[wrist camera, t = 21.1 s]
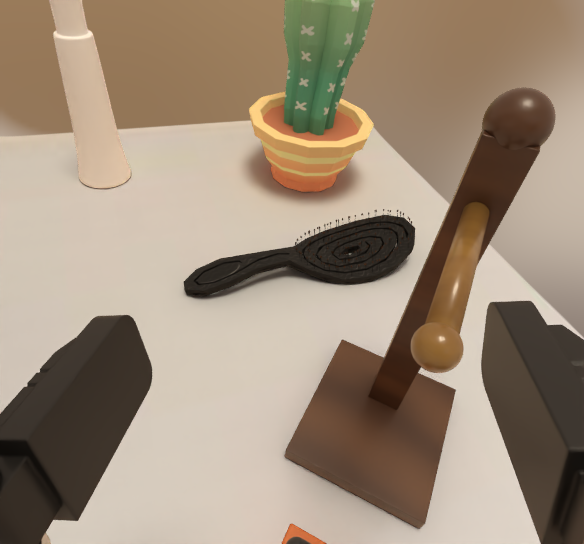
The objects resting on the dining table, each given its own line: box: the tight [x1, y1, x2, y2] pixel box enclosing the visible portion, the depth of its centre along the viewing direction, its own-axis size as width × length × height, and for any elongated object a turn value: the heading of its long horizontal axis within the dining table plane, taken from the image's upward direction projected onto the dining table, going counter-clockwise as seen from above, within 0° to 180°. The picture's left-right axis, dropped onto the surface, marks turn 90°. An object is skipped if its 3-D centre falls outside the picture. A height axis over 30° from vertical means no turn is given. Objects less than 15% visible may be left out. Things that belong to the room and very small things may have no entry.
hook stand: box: [285, 88, 555, 529], centre depth 24 cm, size 14×10×25 cm
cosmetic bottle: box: [49, 0, 131, 188], centre depth 46 cm, size 6×6×22 cm
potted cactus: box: [249, 0, 375, 192], centre depth 50 cm, size 15×15×25 cm
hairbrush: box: [184, 209, 415, 296], centre depth 44 cm, size 8×4×25 cm
